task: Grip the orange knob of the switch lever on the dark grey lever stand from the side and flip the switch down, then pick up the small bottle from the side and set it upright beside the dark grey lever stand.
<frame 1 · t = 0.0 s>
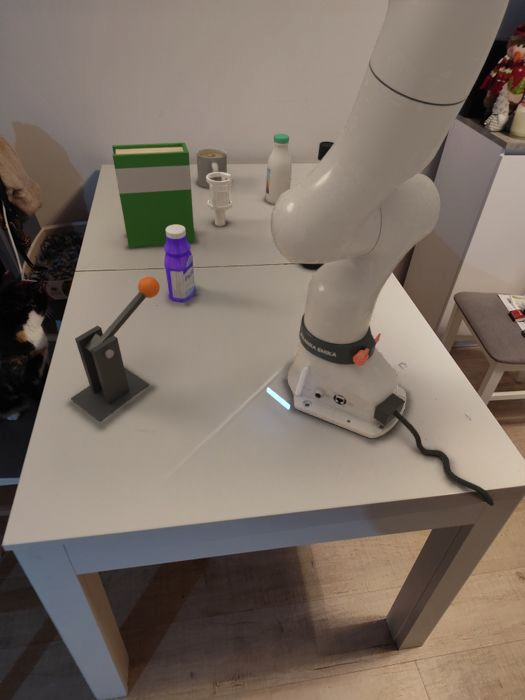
dark grey lever stand: (112, 395, 80), on the table
bottle: (182, 297, 104), on the table
switch: (125, 315, 74), point 15 cm above the table, hinge at 25.0°
wine bottle: (311, 264, 118), on the table
coffee mug: (212, 185, 153), on the table
hardback book: (161, 239, 124), on the table
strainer: (220, 224, 132), on the table
milk bottle: (277, 200, 146), on the table
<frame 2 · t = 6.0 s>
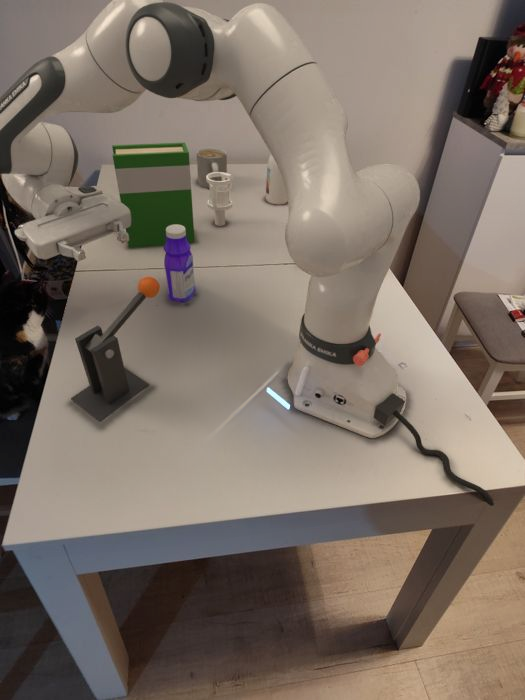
hand: (104, 247, 83), 19 cm above the table, tool horizontal, fingers open, 8 cm apart
nothing on the table moved.
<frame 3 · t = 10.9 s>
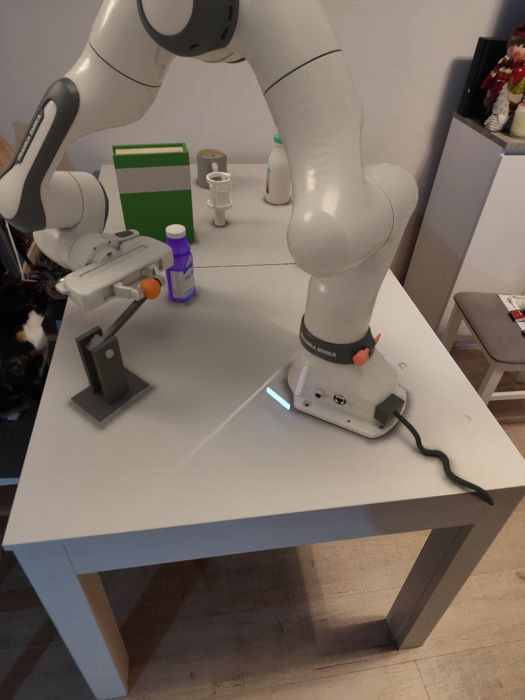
hand: (152, 288, 75), 18 cm above the table, tool horizontal, fingers closed on switch, 4 cm apart
switch: (125, 316, 74), point 15 cm above the table, hinge at 22.7°, touching gripper
everything else where it was.
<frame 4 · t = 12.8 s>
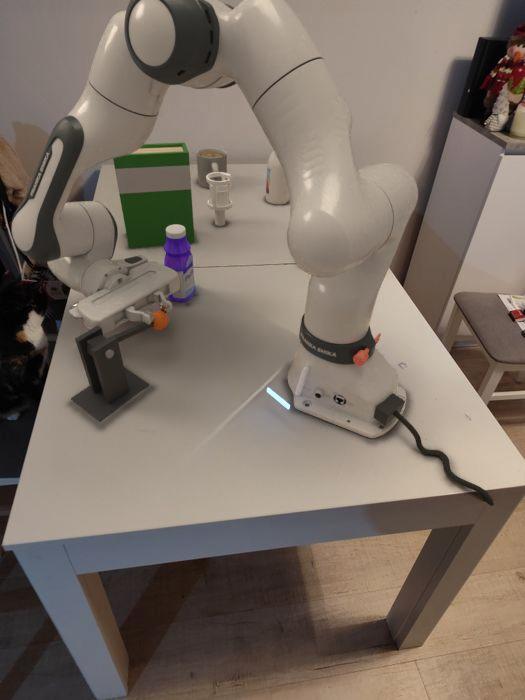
hand: (160, 313, 80), 12 cm above the table, tool horizontal, fingers closed on switch, 3 cm apart
switch: (131, 332, 77), point 11 cm above the table, hinge at -10.3°, touching gripper
everything else where it was.
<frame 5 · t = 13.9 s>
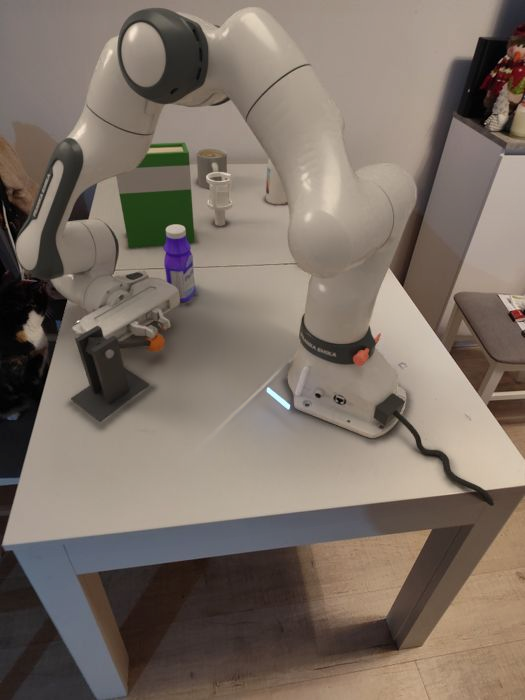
hand: (161, 330, 82), 8 cm above the table, tool horizontal, fingers closed
switch: (129, 344, 78), point 9 cm above the table, hinge at -30.4°, touching gripper
everything else where it was.
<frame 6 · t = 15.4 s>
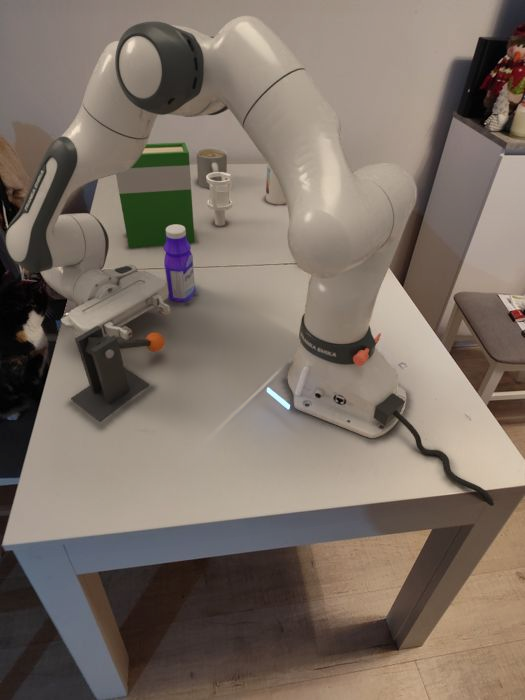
hand: (149, 322, 83), 8 cm above the table, tool horizontal, fingers open, 8 cm apart
switch: (129, 344, 78), point 9 cm above the table, hinge at -30.4°
everything else where it was.
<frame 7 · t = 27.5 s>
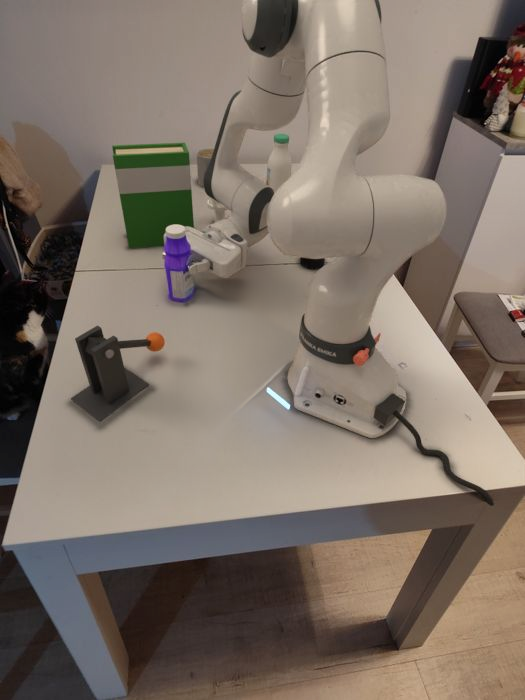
hand: (175, 263, 97), 9 cm above the table, tool horizontal, fingers closed on bottle, 6 cm apart
bottle: (182, 297, 104), on the table, touching gripper
everything else where it was.
when the fingers open (9 cm above the table, at t = 35.1 s): bottle stays where it is, on the table.
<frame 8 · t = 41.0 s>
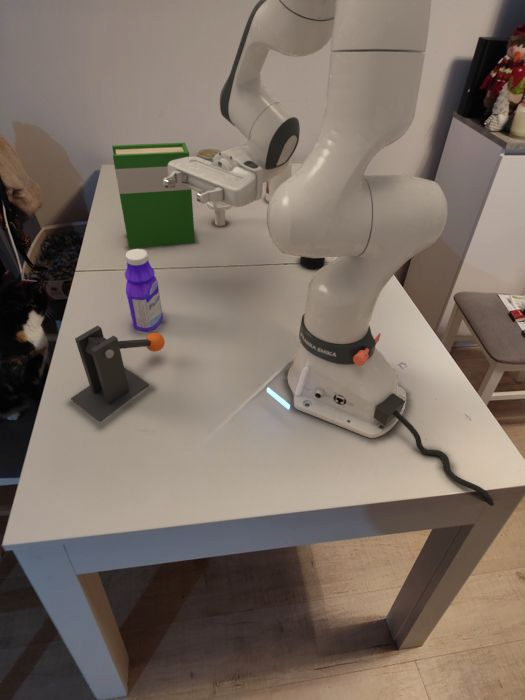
hand: (182, 191, 85), 26 cm above the table, tool horizontal, fingers open, 8 cm apart
bottle: (148, 325, 96), on the table
everything else where it was.
at the end: switch at -30° (first picture: +25°); bottle inside the target area on the table beside the dark grey lever stand (0.2 cm from its centre), on the table; bottle tilted 0° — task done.
